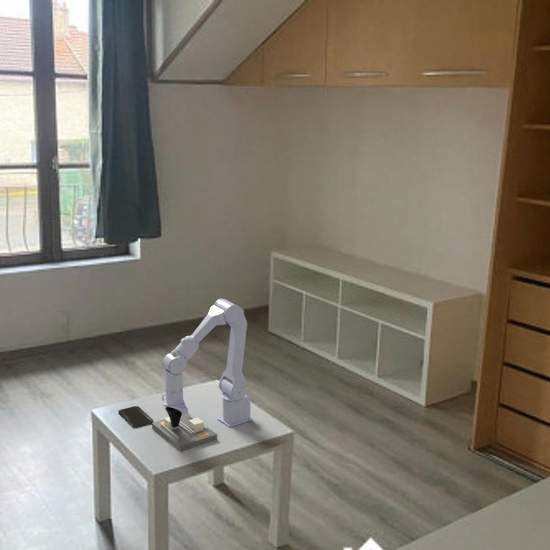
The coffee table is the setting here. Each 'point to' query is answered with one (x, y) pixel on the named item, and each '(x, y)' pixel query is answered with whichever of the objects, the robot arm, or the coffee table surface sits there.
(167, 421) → the tab
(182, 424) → the switch board
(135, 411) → the phone
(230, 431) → the coffee table surface
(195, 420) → the tab
